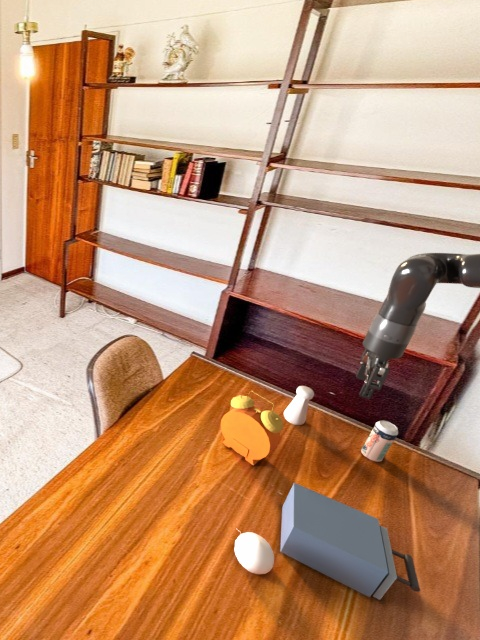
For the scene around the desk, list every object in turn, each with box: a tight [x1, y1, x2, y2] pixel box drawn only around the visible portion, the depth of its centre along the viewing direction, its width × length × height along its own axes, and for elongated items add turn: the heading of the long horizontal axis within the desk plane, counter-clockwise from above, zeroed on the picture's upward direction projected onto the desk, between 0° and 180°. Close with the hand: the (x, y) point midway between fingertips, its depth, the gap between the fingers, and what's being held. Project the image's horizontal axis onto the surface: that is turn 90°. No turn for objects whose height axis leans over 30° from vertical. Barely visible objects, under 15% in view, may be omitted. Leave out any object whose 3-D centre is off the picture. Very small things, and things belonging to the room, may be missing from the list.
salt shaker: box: [283, 385, 315, 426], centre depth 120 cm, size 6×6×13 cm
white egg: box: [233, 529, 275, 575], centre depth 84 cm, size 10×7×7 cm
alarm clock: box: [220, 390, 284, 466], centre depth 107 cm, size 13×6×20 cm, turn 34°
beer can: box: [360, 420, 399, 463], centre depth 109 cm, size 5×5×12 cm
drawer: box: [371, 525, 421, 601], centre depth 83 cm, size 19×11×8 cm, turn 57°
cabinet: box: [279, 482, 388, 598], centre depth 86 cm, size 16×13×10 cm
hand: (362, 387), depth 101 cm, fingers open, 8 cm apart
